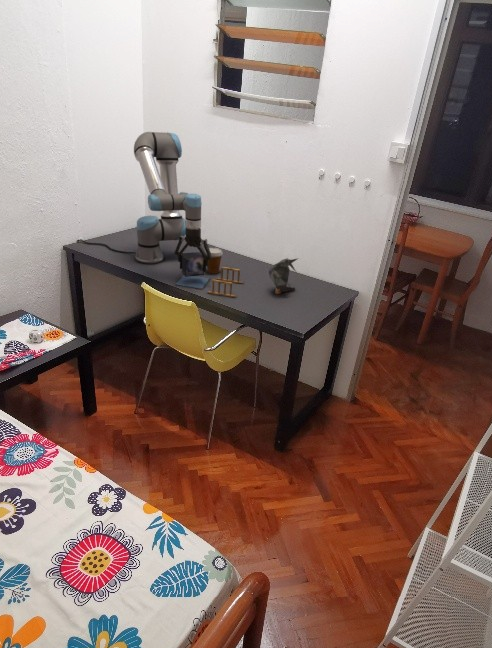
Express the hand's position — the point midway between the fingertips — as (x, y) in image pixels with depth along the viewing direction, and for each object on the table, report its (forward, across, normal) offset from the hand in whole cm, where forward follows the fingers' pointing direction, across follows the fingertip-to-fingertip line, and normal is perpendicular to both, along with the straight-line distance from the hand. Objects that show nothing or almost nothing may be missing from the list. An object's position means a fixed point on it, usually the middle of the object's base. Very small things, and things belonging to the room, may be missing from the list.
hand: (193, 269), depth 234 cm
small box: (+3, 0, 0) cm, 3 cm away
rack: (+7, +18, -1) cm, 19 cm away
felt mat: (+7, 0, 0) cm, 7 cm away
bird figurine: (+7, +46, +6) cm, 47 cm away
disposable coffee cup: (+7, +6, +18) cm, 20 cm away
